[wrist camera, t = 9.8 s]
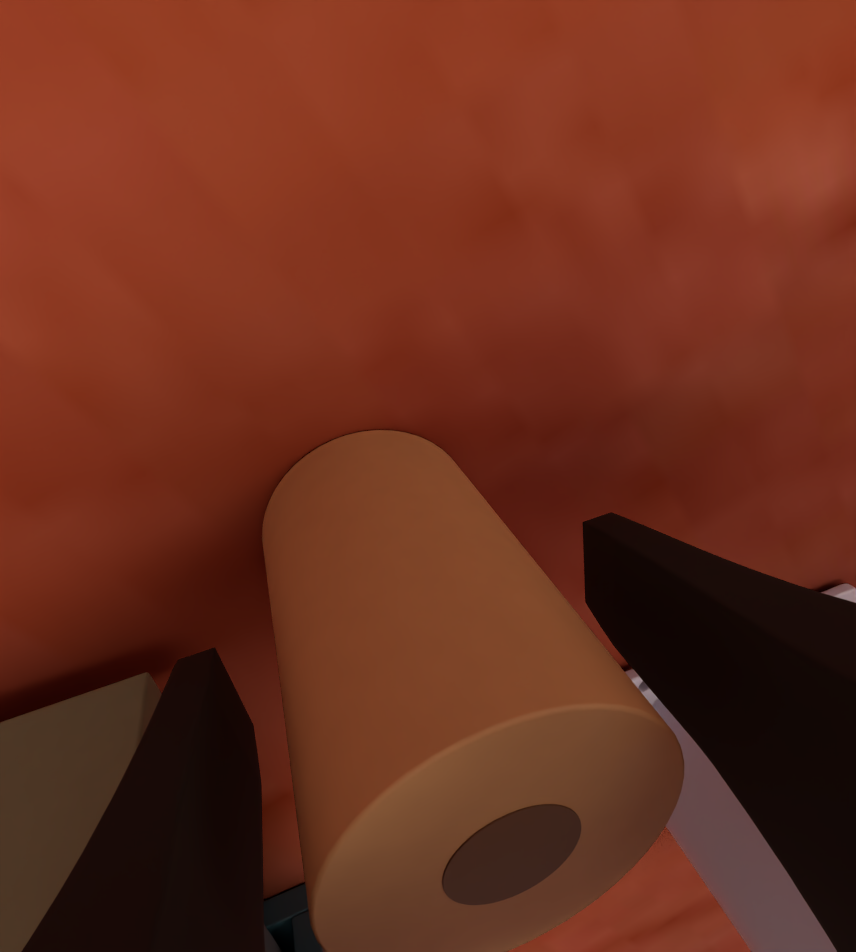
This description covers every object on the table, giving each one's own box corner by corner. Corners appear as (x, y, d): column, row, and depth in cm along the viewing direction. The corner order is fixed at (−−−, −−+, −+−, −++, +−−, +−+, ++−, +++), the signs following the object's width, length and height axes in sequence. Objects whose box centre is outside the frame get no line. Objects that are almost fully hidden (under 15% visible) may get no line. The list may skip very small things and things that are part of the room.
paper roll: (455, 402, 12) (702, 646, 6) (480, 573, 15) (676, 872, 9) (230, 466, 12) (248, 831, 5) (296, 637, 14) (363, 1026, 8)
